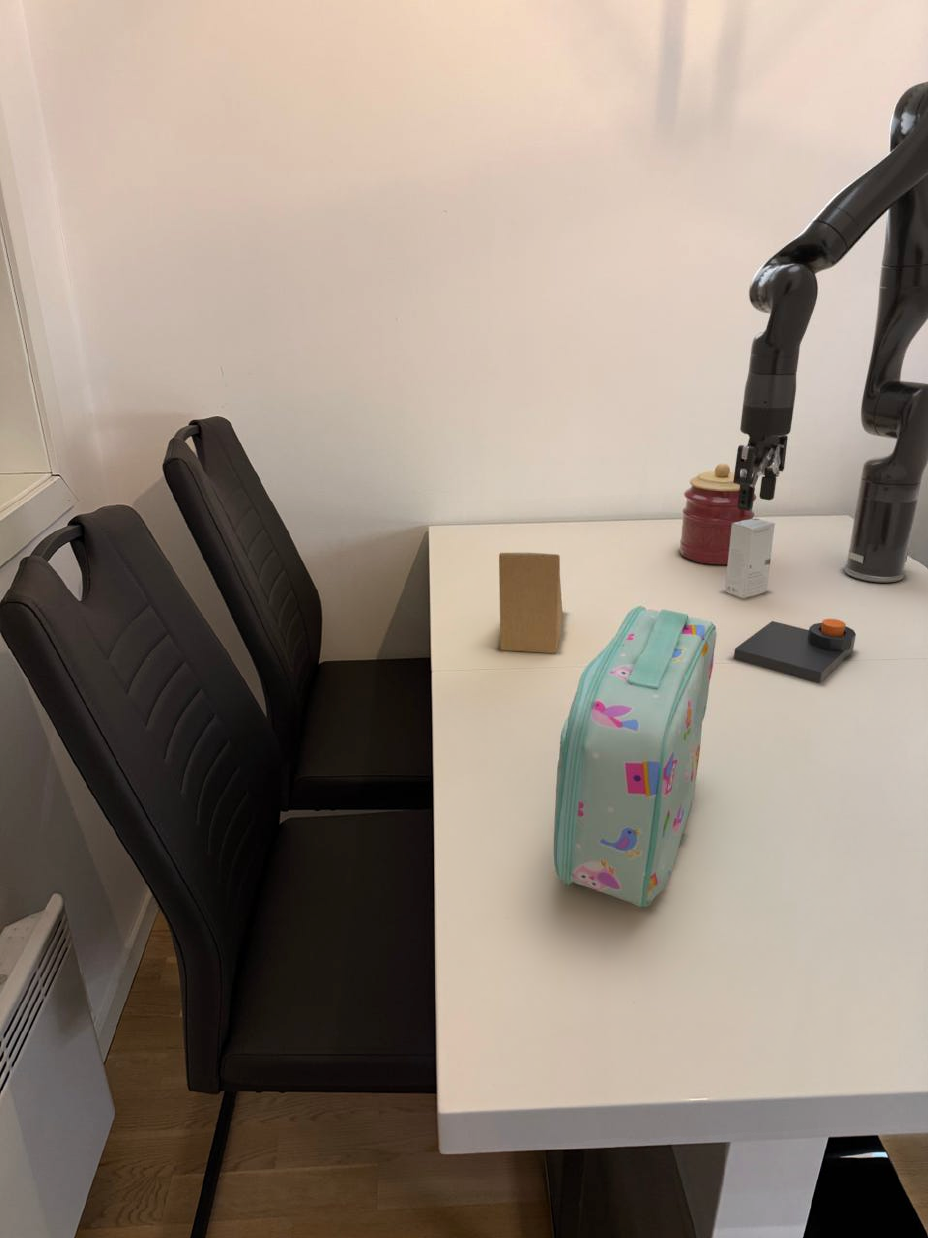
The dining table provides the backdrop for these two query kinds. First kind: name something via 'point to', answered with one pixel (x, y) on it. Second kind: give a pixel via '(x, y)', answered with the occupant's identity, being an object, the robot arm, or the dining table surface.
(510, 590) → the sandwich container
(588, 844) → the lunch box
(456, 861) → the dining table surface
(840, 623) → the tare button
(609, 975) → the dining table surface
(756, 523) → the cosmetic box
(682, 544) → the kitchen canister
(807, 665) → the button base plate
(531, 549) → the dining table surface
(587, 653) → the dining table surface
